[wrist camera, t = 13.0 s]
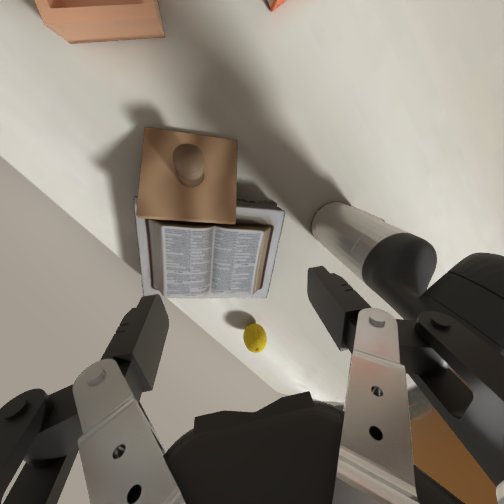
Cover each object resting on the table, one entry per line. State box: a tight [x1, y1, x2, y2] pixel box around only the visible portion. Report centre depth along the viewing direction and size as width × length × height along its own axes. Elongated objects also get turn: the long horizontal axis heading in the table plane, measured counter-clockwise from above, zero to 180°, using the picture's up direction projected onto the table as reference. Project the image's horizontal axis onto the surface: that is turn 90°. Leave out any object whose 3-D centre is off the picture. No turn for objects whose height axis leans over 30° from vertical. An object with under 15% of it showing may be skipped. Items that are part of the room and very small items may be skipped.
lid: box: [136, 127, 237, 224], centre depth 31 cm, size 14×14×6 cm
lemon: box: [244, 324, 267, 353], centre depth 52 cm, size 6×6×8 cm
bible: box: [133, 196, 285, 298], centre depth 39 cm, size 23×27×10 cm
